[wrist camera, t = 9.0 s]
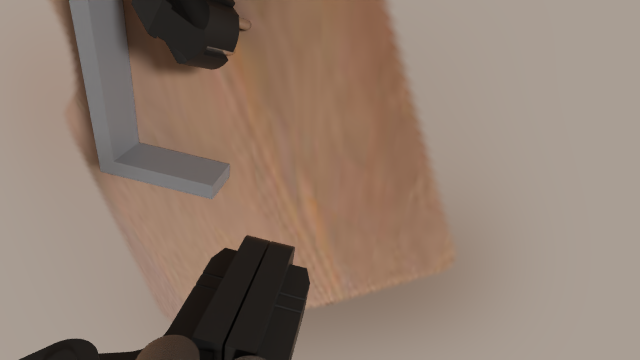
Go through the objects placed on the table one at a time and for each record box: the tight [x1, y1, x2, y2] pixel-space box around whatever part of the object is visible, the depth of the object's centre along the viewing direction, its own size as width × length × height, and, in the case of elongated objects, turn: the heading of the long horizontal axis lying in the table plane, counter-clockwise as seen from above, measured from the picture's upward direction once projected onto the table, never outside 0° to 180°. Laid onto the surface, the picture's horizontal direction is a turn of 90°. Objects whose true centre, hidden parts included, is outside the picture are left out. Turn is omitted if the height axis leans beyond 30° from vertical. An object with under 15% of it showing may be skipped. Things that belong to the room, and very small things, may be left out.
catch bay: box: [69, 0, 230, 199], centre depth 32 cm, size 21×11×4 cm, turn 170°
